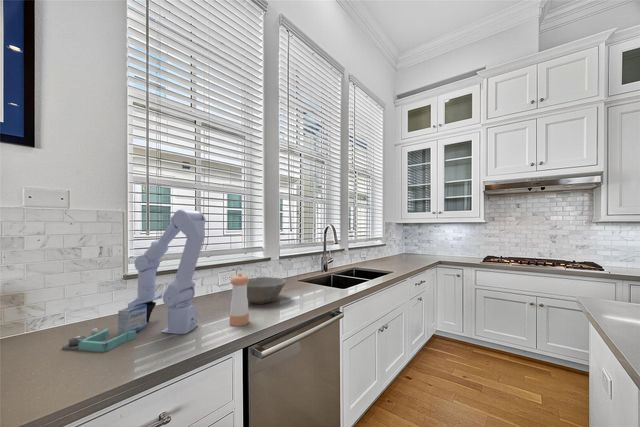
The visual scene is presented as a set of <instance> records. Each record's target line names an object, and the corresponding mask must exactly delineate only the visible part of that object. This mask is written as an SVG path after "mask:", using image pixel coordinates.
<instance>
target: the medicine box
mask: <svg viewBox="0 0 640 427" xmlns="http://www.w3.org/2000/svg"><path fill="white" fill-rule="evenodd" d="M117 314H118V315H117V316H118V317H117V318H118V319H117V336H119V335H122V334H124V333H126V332H130V331H133V330H135V331H136V333H138V332H139V331H141V330H144V329H146V328H147V323H146V316H147V305H146V304H141V305H138V306H135V308H128V307H126V308H123V309H121V310H118V313H117Z"/></svg>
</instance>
